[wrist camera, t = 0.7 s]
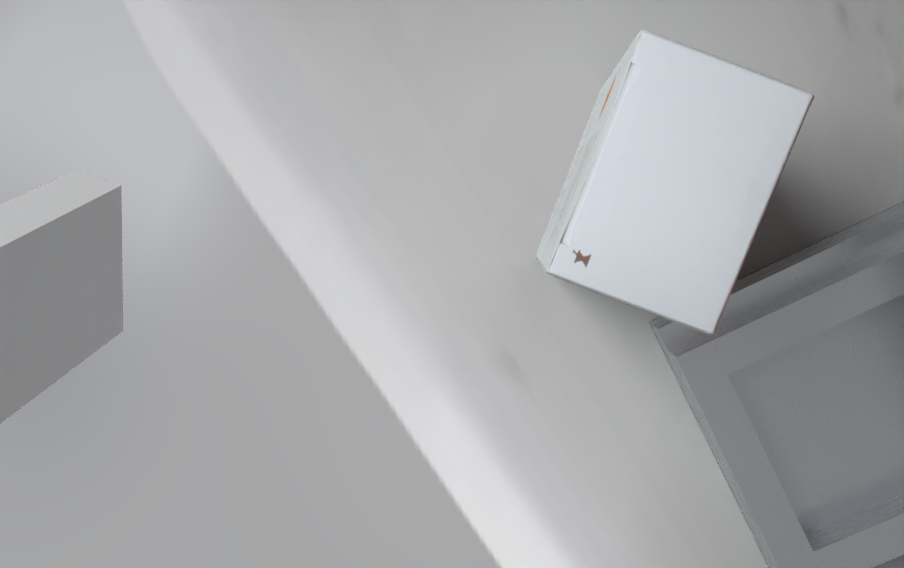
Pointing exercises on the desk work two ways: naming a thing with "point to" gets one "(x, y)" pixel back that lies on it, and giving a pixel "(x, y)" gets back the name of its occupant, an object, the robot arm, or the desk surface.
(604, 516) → the desk surface
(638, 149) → the small box
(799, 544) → the grey bin
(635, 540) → the desk surface
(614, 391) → the desk surface
